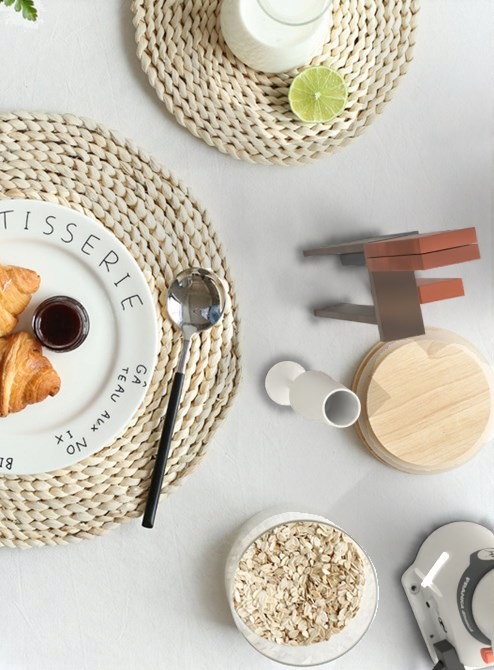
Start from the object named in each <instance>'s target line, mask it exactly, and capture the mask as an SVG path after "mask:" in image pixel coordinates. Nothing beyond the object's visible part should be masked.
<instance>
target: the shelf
mask: <svg viewBox="0 0 494 670" xmlns="http://www.w3.org/2000/svg"><path fill="white" fill-rule="evenodd" d="M478 241H479V240H478V235H477V230H476V226H470V227H469V226H468V227H460V228H453V229H445V230H438V231H431V232H430V231H429V232H422V233H419V234H414V235H402V236H397V237H391V238H386V239H381V240H376V241H371V242H366V243H363V249H364V254H365V260H366V265H365V266H366V270H367V276H368V280H369V282H368V283H369V288H370V291H371V297H372V302H373V306H374V309H375V314H376V319H377V325H376V326H377V329H378V335H379V340H380V342H381V343H389V342H395V341H401V340H404V339H405V340H406V339H409V338H414V337H418V336H425V335H426V329H425V324H424V318H423V313H422V307H421V304H420V301H419V295H418V290H417V284H416V279H415V278H416V274H415V272H416V271H427V270H433V269H437V268H438V269H439V268H443V267H448V266H453V265H459V264H463V263H468V262H473V261H478V260H481V258H482V257H481V252H480V247H479V243H478Z"/></svg>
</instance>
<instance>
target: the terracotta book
mask: <svg viewBox="0 0 494 670" xmlns="http://www.w3.org/2000/svg"><path fill="white" fill-rule="evenodd" d="M415 279H416V284H417V290H418V295H419V301H420V305H425V304H431V303H436V302H439V301H445V300H451V299H454V298H460V297H464V296H466V294H465V288H464V282H463V277H415Z"/></svg>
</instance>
